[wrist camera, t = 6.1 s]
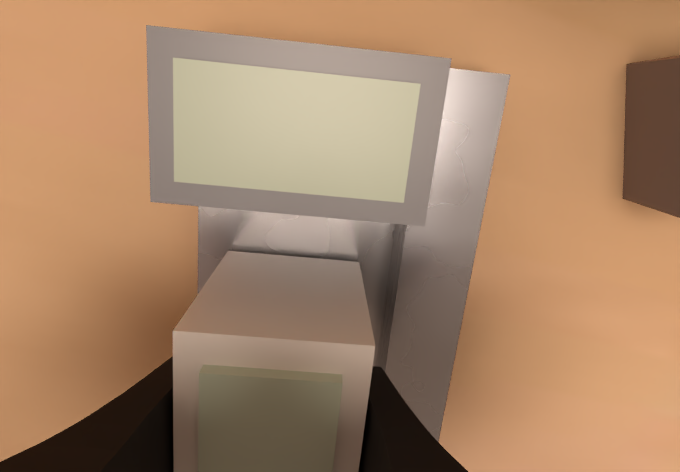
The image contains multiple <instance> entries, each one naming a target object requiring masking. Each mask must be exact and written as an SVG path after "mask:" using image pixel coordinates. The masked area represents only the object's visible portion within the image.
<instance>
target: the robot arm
mask: <svg viewBox="0 0 680 472" xmlns="http://www.w3.org/2000/svg"><path fill="white" fill-rule="evenodd" d="M0 472H174V456H173V357H171V358H170V359H169V360H167V361H166V362H165V363H163V364H162V365H161V366H159V367H158V368H157V369H155V370H154V371H153V372H151V373H150V374H149V375H147V376H146V377H145V378H143V379H142V380H141V381H139V382H138V383H137V384H135V385H134V386H132V387H131V388H130V389H128V390H127V391H126V392H124V393H123V394H121V395H120V396H118V397H117V398H115V399H114V400H112V401H111V402H109V403H108V404H106V405H104V406H103V407H101V408H100V409H98V410H97V411H95V412H94V413H92V414H91V415H89V416H88V417H86V418H84V419H83V420H81V421H79V422H78V423H76V424H74V425H73V426H71V427H69V428H67V429H65V430H64V431H62V432H60V433H58V434H56V435H54V436H53V437H51V438H49V439H47V440H45V441H43V442H41V443H39V444H37V445H35V446H33V447H31V448H29V449H27V450H25V451H23V452H21V453H18V454H16V455H14V456H12V457H10V458H8V459H6V460H4V461H1V462H0ZM358 472H468V471H467V470H466V469H465V468H464V467H463V466H462V465H461V464H460V463H458V462H457V461H456V460H455V459H454V458H453V457H452V456H451V455H450V454H449V453H448V452H447V451H446V450H445V449H444V448H443V447H442V446H441V445H440V444H439V443H438V441H437V440H436V439H435V438H434V437H433V436H432V435H431V433H430V432H429V431H428V430H427V429H426V428H425V426H424V425H423V424H422V423H421V422H420V420H419V419H418V418H417V416H416V415H415V414H414V412H413V411H412V410H411V409H410V407H409V406H408V405H407V403H406V402H405V401H404V399H403V398H402V396H401V395H400V394H399V392H398V391H397V389H396V388H395V386H394V385H393V383H392V382H391V380H390V379H389V377H388V376H387V374H386V373H385V371H384V370H383V369H382V367H376V366H373V368H372V375H371V383H370V390H369V397H368V405H367V412H366V420H365V427H364V434H363V442H362V449H361V457H360V464H359V471H358Z"/></svg>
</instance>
